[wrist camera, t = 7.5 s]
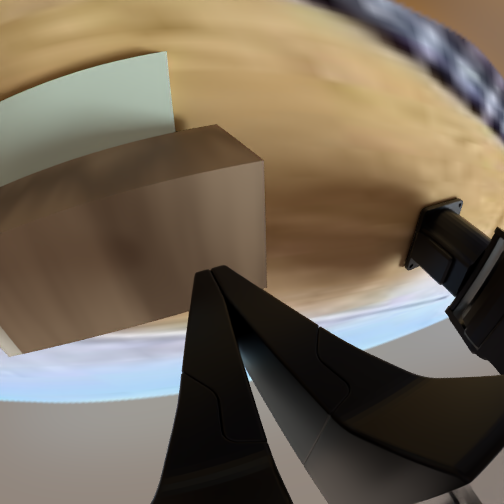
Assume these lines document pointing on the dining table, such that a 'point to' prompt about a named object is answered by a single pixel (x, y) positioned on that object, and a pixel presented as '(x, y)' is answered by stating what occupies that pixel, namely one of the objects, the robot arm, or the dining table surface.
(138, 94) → the mat
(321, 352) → the robot arm
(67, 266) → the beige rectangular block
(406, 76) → the dining table surface
